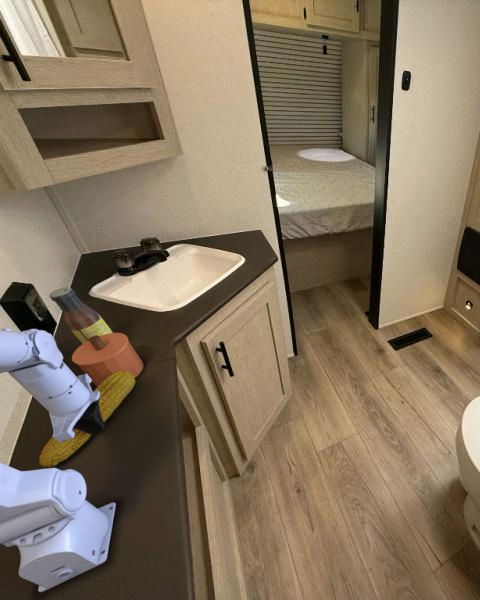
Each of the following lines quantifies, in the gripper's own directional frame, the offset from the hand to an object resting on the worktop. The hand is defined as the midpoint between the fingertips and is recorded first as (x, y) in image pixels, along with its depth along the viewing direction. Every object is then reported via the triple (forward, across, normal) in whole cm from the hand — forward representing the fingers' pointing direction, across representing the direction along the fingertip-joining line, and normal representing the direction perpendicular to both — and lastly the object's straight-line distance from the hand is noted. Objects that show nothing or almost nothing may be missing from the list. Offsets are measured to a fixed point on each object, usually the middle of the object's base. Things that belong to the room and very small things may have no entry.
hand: (98, 430), depth 64 cm
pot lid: (-6, +20, 0) cm, 20 cm away
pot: (+3, +20, 0) cm, 20 cm away
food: (+3, +5, +2) cm, 6 cm away
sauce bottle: (+3, +30, +4) cm, 31 cm away
